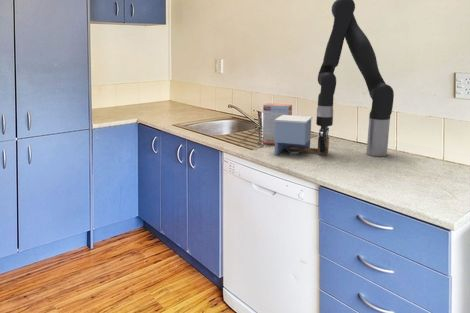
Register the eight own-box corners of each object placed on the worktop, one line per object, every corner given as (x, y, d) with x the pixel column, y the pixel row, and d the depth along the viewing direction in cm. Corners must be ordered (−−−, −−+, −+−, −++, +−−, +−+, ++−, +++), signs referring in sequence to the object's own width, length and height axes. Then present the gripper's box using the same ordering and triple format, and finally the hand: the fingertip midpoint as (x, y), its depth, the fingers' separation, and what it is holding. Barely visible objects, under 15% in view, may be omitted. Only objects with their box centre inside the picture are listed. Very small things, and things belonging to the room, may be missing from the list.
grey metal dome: (300, 153, 208) (300, 149, 208) (298, 155, 203) (298, 152, 203) (290, 152, 210) (290, 149, 209) (287, 154, 205) (287, 151, 205)
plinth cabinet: (310, 150, 212) (312, 116, 208) (304, 157, 198) (306, 121, 194) (281, 148, 217) (282, 114, 213) (273, 154, 204) (274, 119, 199)
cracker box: (291, 144, 224) (292, 104, 219) (286, 146, 219) (288, 105, 214) (267, 141, 231) (268, 102, 226) (262, 143, 226) (263, 104, 221)
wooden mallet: (328, 153, 207) (329, 136, 205) (326, 155, 203) (327, 138, 201) (289, 149, 213) (289, 133, 211) (286, 151, 209) (287, 135, 207)
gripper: (330, 118, 193) (328, 155, 197) (335, 113, 206) (333, 148, 210) (313, 117, 196) (312, 153, 200) (319, 112, 209) (317, 146, 213)
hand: (323, 150), depth 205 cm, fingers closed on wooden mallet, 4 cm apart
